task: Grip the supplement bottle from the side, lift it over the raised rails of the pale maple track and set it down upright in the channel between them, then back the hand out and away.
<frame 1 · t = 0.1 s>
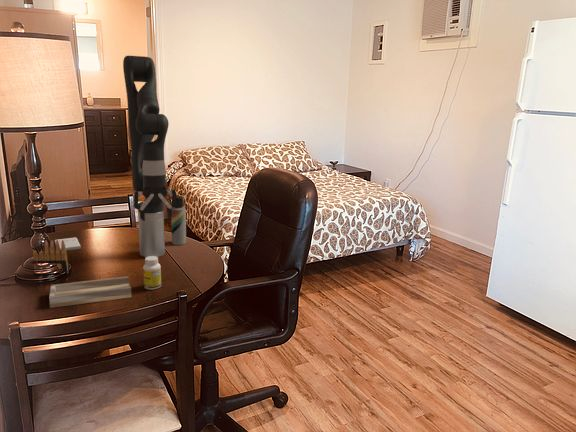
hand: (156, 219, 158), 17 cm above the table, tool pointing down, fingers open, 8 cm apart
track: (91, 295, 137), on the table
lotion bottle: (179, 243, 188), on the table
supplement bottle: (152, 287, 145), on the table
ammunition clip: (51, 274, 152), on the table
external hard drive: (67, 246, 180), on the table
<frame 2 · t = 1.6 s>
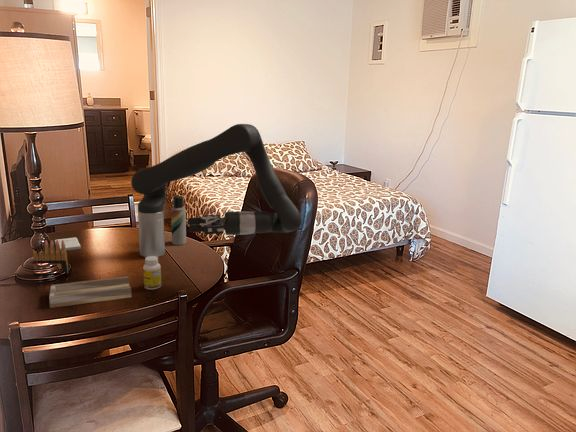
hand: (188, 225, 143), 20 cm above the table, tool horizontal, fingers open, 8 cm apart
nothing on the table moved.
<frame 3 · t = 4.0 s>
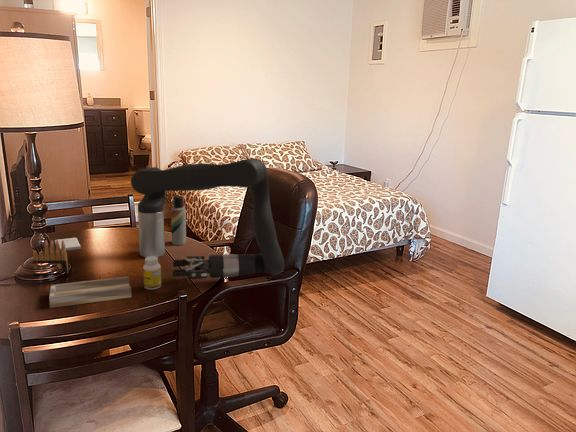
hand: (173, 268, 145), 6 cm above the table, tool horizontal, fingers open, 8 cm apart
nothing on the table moved.
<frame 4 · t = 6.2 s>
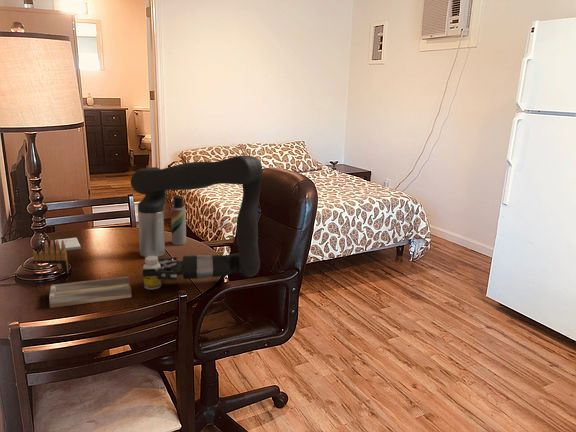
hand: (143, 269, 143), 6 cm above the table, tool horizontal, fingers closed on supplement bottle, 5 cm apart
supplement bottle: (152, 287, 145), on the table, touching gripper
everything else where it was.
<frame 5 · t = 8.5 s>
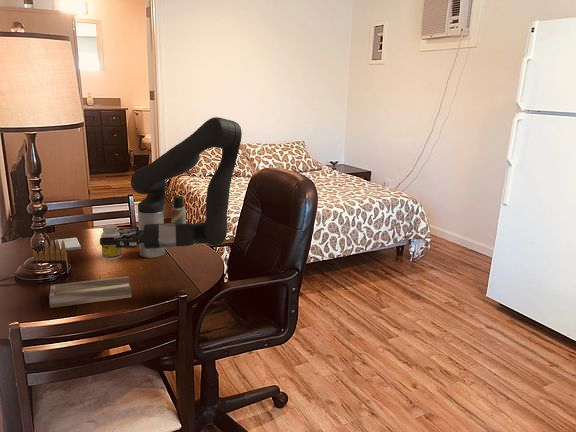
hand: (101, 238, 134), 18 cm above the table, tool horizontal, fingers closed on supplement bottle, 5 cm apart
supplement bottle: (112, 257, 137), point 11 cm above the table, touching gripper
everything else where it was.
when the fingers open (8 cm above the table, at t = 11.2 s): supplement bottle drops 1 cm, resting on track.
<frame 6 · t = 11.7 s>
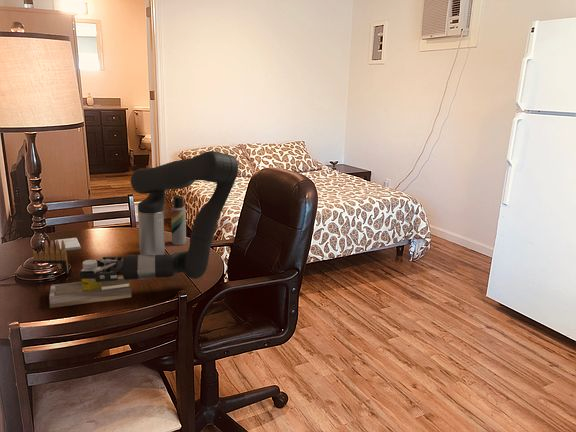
hand: (82, 269, 134), 8 cm above the table, tool horizontal, fingers open, 8 cm apart
supplement bottle: (92, 292, 137), point 1 cm above the table, touching track
everything else where it was.
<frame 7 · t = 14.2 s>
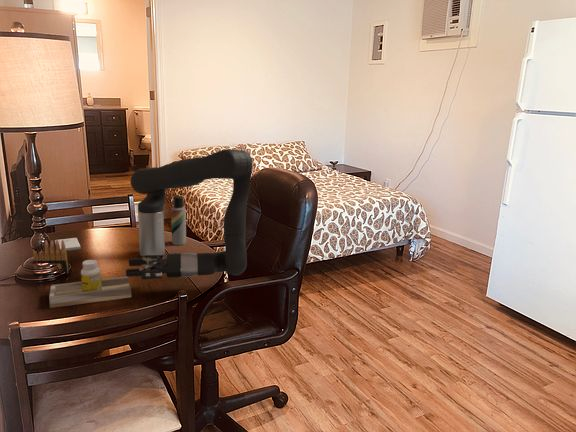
hand: (127, 267, 137), 8 cm above the table, tool horizontal, fingers open, 8 cm apart
nothing on the table moved.
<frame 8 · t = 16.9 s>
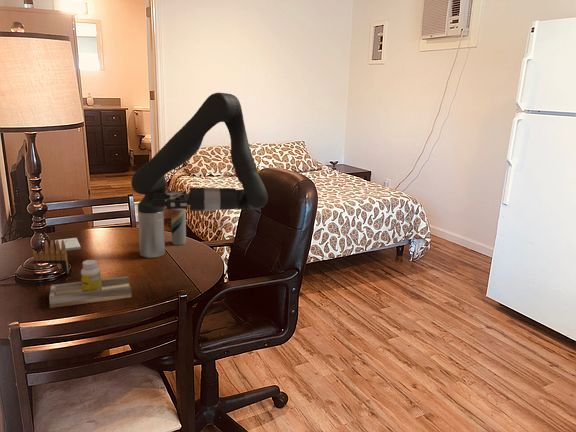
hand: (152, 199, 140), 28 cm above the table, tool horizontal, fingers open, 8 cm apart
nothing on the table moved.
at the end: supplement bottle inside the target area on the track (0.2 cm from its centre), point 0.8 cm above the track's base; supplement bottle tilted 0°; the gripper is holding nothing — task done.
